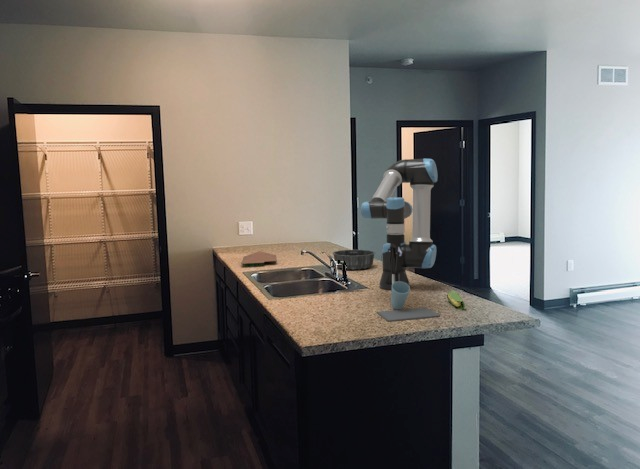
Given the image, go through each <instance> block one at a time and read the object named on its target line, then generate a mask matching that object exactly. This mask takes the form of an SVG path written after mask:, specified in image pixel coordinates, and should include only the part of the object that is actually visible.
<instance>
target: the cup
mask: <svg viewBox="0 0 640 469" xmlns="http://www.w3.org/2000/svg"><path fill="white" fill-rule="evenodd" d="M410 291H411V287H410V284H409V285H408V284H407V283H405V282H402V281H396V282H394V283H393V284H392V290H391V294H390V295H391V296H390V305H391V307H392V309H393V310H402V309H404V306H405V304H406V301H407V298H408V296H409V294H410Z"/></svg>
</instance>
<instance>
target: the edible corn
mask: <svg viewBox="0 0 640 469" xmlns="http://www.w3.org/2000/svg"><path fill="white" fill-rule="evenodd" d="M446 298H447V301H448V302H449V303H451V304H452V306H453V307H455V308H456V309H458V310H460V311H463V309H464V310H465V309H466V304H465V302H464V301H463V299H462V298H461V296H460V294H459V293H458V292H457V291H454V290H453V291H449V292H448V293H447V295H446Z"/></svg>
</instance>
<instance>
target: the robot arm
mask: <svg viewBox="0 0 640 469" xmlns="http://www.w3.org/2000/svg"><path fill="white" fill-rule="evenodd" d="M438 175H439V174H438V169H437V164H436V161H435V160H434V159H432V158H411V159H407V158H406V159H400V160H398V161H396V162H394V163H392V164H391V165H390V166H389V167H388V168H387V169H386V170H385V171H384V173H383V176H382V181H381V182H380V184H379V185H378V187H377V190H375V193H374V194H373V196H372V198H371V199H370V201H368V200H367V201H364V202H362V203H361V205H360V206H361V207H360V213H361V216H362V218H364V219H371V220H373V219H386V226H385V229H386V233H387V234H386V243H384V244H383V245H382V250H381V257H382V274H381V277H380V280H379V288H380V289H382V290H389V291H392V284H393V283H394V282H396V281H402V282H405V283H407V284H408V285H409V286H410V280H409V278H408V277H409V276H408V275H407V271H406V270H407V269H406V268H413V269H414V268H415V269H431V268H432V267H433V266H434V265H435V261H436V259H437V258H436V257H437V245H436V244H434V241H433V239H431V191H432V188H434V186H435V183H437V182H438ZM404 183H405V184H407V183H409V186H410V188H412V205H411V203H410V202H408V201H406V200H405V198H404V197H392V196H393V194H394V193H395V190H396V189H397V187H399V186H400V185H401V184H404ZM411 215H412V226H411V227H412V229H411V230H412V233H411V238H410V239H409V241H408V244H407V243H406V241H405V232H406V230H405V227H406V226H405V219H407V218H409V217H410V216H411Z"/></svg>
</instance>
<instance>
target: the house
mask: <svg viewBox="0 0 640 469" xmlns="http://www.w3.org/2000/svg"><path fill="white" fill-rule="evenodd" d="M265 262H266V263H268V262H277V255H276V254H273V253H269V252H264V251H257V252H252V253H251V254H247V255H245V256H244V255H243V257H242V260H241V264H242V267H247V264H249V267H251V266H252V267H254V266H255V267H256V265H258V264H259V265H258V266H259V267H260V266H261V264H265Z"/></svg>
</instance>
